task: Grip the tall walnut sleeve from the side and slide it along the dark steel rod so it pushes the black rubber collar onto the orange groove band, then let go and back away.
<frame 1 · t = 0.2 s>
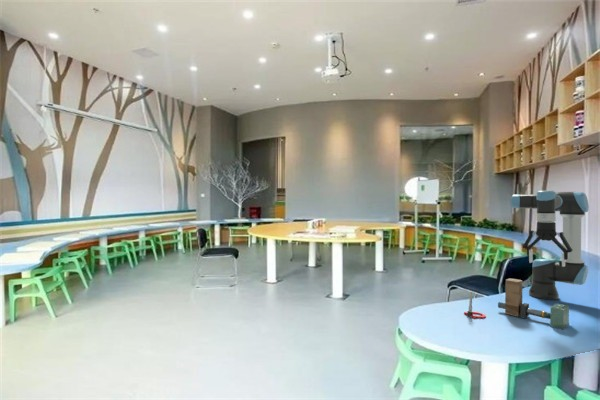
hand: (546, 264, 171), 28 cm above the table, tool pointing down, fingers open, 13 cm apart
rod stand: (531, 318, 173), on the table
sleeve: (513, 296, 179), point 9 cm above the table, slide at 0.0 cm
tow hook: (475, 316, 177), on the table
collar: (524, 310, 175), point 4 cm above the table, slide at 0.0 cm
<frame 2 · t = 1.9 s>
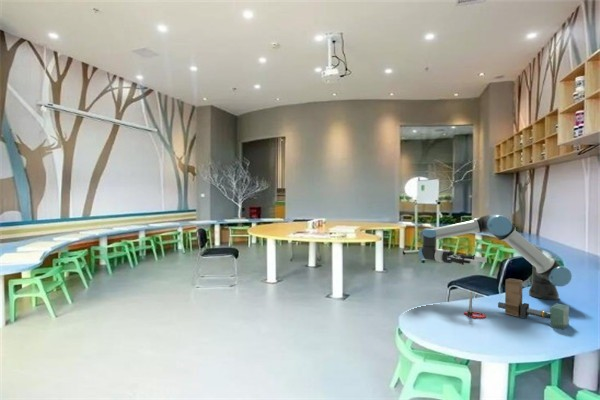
hand: (481, 261, 190), 25 cm above the table, tool horizontal, fingers open, 13 cm apart
nothing on the table moved.
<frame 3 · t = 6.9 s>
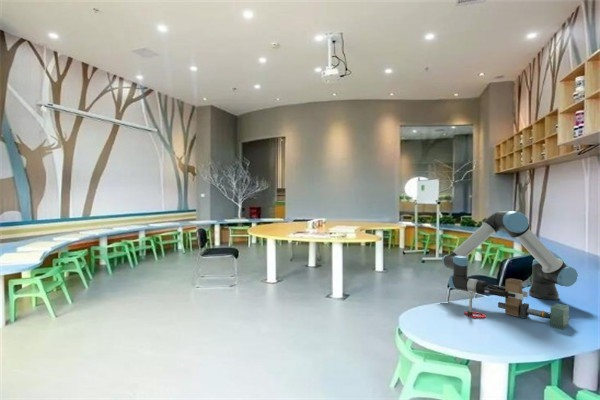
hand: (525, 295, 175), 11 cm above the table, tool horizontal, fingers closed on sleeve, 6 cm apart
sleeve: (513, 296, 179), point 9 cm above the table, slide at 0.0 cm, touching gripper
everything else where it was.
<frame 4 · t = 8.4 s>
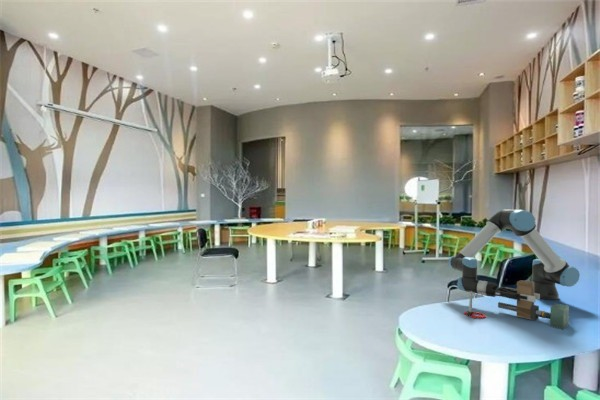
hand: (537, 298, 171), 11 cm above the table, tool horizontal, fingers closed on sleeve, 6 cm apart
sleeve: (525, 299, 175), point 9 cm above the table, slide at 5.3 cm, touching collar, gripper
collar: (534, 312, 172), point 3 cm above the table, slide at 4.3 cm, touching sleeve
everything else where it was.
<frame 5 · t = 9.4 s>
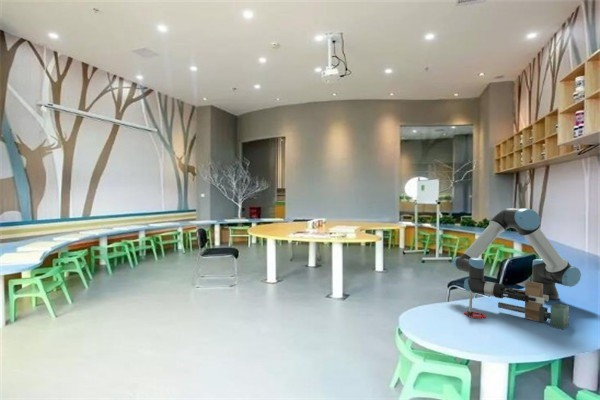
hand: (546, 299, 168), 11 cm above the table, tool horizontal, fingers closed on sleeve, 6 cm apart
sleeve: (533, 300, 172), point 9 cm above the table, slide at 8.9 cm, touching collar, gripper
collar: (543, 314, 169), point 3 cm above the table, slide at 7.9 cm, touching sleeve
everything else where it was.
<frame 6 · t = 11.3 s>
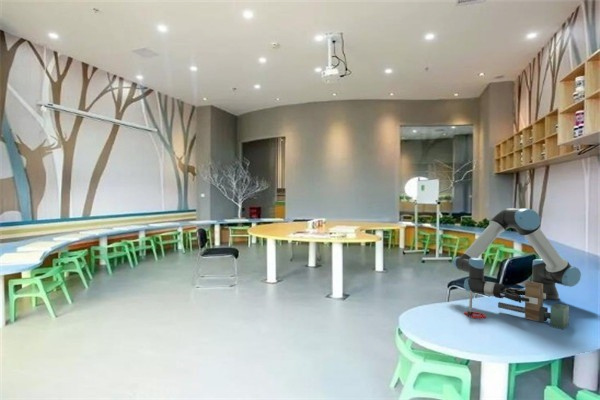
hand: (541, 298, 169), 11 cm above the table, tool horizontal, fingers open, 13 cm apart
sleeve: (534, 300, 172), point 9 cm above the table, slide at 9.0 cm
collar: (543, 314, 169), point 3 cm above the table, slide at 8.0 cm
everything else where it was.
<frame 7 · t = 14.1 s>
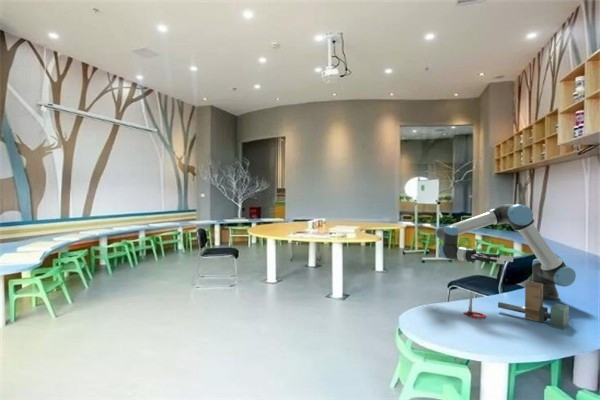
hand: (508, 260, 181), 28 cm above the table, tool horizontal, fingers open, 13 cm apart
nothing on the table moved.
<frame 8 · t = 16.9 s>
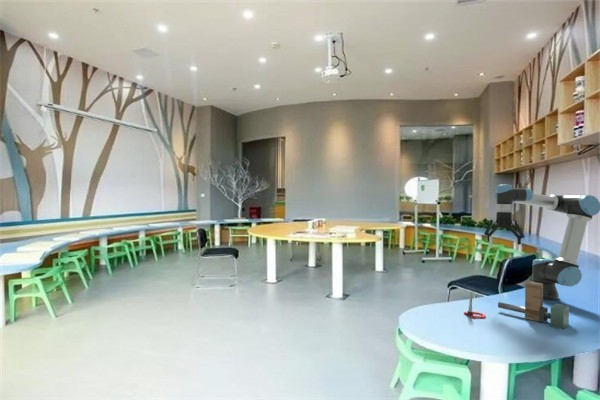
hand: (503, 248, 196), 32 cm above the table, tool pointing down, fingers open, 13 cm apart
nothing on the table moved.
at the end: collar slide at 8.0 cm; the gripper is holding nothing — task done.
